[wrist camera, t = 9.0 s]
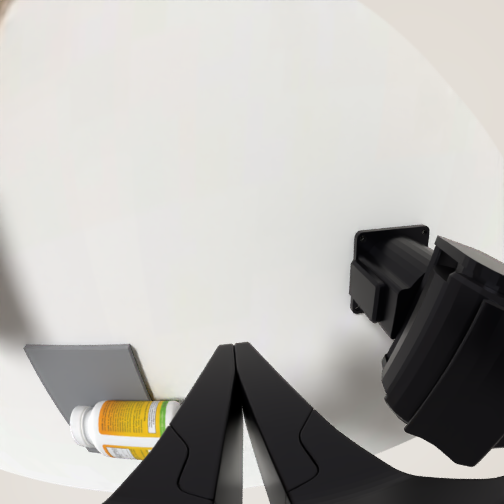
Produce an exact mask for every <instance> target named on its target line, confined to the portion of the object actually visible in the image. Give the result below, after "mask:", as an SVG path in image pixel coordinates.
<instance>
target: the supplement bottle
mask: <svg viewBox="0 0 504 504" xmlns="http://www.w3.org/2000/svg"><path fill="white" fill-rule="evenodd" d="M180 406H181V405H180V403H179V402H177V401H115V400H104V401H100V402H98V403H97V404H96V405H95V406H94V407H90V406H77V407H75V408H74V409H73V411H72V413H71V417H70V430H71V434H72V436H73V439H74V440H75V442H76V443H77V444H78V445H80V446H83V447H89V448H95V447H96V449H97V450H98V451H99V452H100V453H101V454H103V455H105V456H107V457H114V458H124V459H137V460H143V459H144V458H145V457H146V456H147V455H148V453H149V452H150V451H151V450H152V448H153V447H154V446H155V444H156V443H157V441H158V440H159V438H160V437H161V436H162V434H163V432H164V431H165V429H166V428H167V426H170V425H169V423H170V422H171V420H172V419H173V417H174V416H175V414H176V412H177V411H178V409H179V408H180Z"/></svg>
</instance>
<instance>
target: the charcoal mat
mask: <svg viewBox="0 0 504 504" xmlns="http://www.w3.org/2000/svg"><path fill="white" fill-rule="evenodd" d="M24 350H25V352H26V354H27V356H28V358H29V360H30V362H31V364H32V366H33V368H34V369H35V371H36V373H37V375H38V377H39V378H40V380H41V382H42V384H43V385H44V387H45V389H46V390H47V392H48V394H49V395H50V397H51V398H52V400H53V402H54V403H55V405H56V406H57V408H58V409H59V411H60V412H61V414H62V415H63V417H64V418H65V420H66V421H67V423H68V424H69V425H70V417H71V413H72V411H73V409H74V408H75V407H77V406H90V407H94V406H95V405H96V404H97V403H98V402H100V401H104V400H115V401H151V398H150V396H149V394H148V391H147V389H146V386H145V384H144V381H143V379H142V376H141V374H140V371H139V369H138V366H137V364H136V361H135V358H134V356H133V353H132V350H131V347H130V344H121V345H26V346H25V347H24ZM86 448H87V450H88V451H89V452H94V453H100V452H99V451H98V450H97V449H96V447H95V448H89V447H86Z"/></svg>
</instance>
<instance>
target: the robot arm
mask: <svg viewBox="0 0 504 504" xmlns="http://www.w3.org/2000/svg"><path fill="white" fill-rule="evenodd" d="M423 230H424V233H423V234H422V231H423ZM361 236H364V239H363V240H362V241H360V238H361ZM428 241H429V228H428V227H427V226H425V225H413V226H402V227H392V228H381V229H371V230H361V231H358V232H357V233H356V235H355V238H354V260H353V261H352V263H351V270H350V286H349V294H350V295H351V304H350V308H351V310H352V311H353V313H355V314H359V313H365V314H366V315H367V317H368V318H369V319H370V320H371V321H372V322H373V323H377V322H378V323H379V324H380V325H381V327H382V328H383V329H384V330H385V332H386V333H387V334H388V335H389V337H390V338H391V339H395V340H394V342H393V344H392V346H391V348H390V350H389V351H388V353H387V354H385V356H384V358H383V359H382V367H383V370H382V383H383V386H384V389H385V392H386V393H387V394H386V396H385V398H384V399H385V401H386V403H387V405H388V406H389V407H390V409H391V410H392V411H393V412H394V413H395V414H396V415H397V417H398V418H399V419H401V420H402V421H403V422H404V423H406V424H407V425H406V426H405V428H404V431H405V432H406V433H409V434H412V435H415V436H417V437H420V438H422V439H424V440H426V441H428V442H429V443H431V444H433V445H435V446H436V447H437V448H438V449H440V450H441V451H442V452H443V453H444V454H445V455H446V456H448V457H449V458H450V459H451V460H452V461H453V462H455V463H457V464H460V465H464V466H469V467H473V466H475V465H476V464H477V463H478V462H480V461H481V459H482V458H483V457H484V456H485V455H486V454H487V453H488V452H489V451H490V450H491V449H493V448H504V263H502V262H500V261H498V260H497V259H495V258H493V257H491V256H489V255H487V254H485V253H483V252H481V251H479V250H476V249H474V248H471V247H468V246H466V245H463V244H460V243H458V242H455V241H452V240H449V239H447V238H444V237H441V236H437V238H436V241H435V245H436V246H435V249H434V250H432V249H430V248H429V247H428ZM358 305H359V307H358V308H356V306H358ZM242 409H243V410H242ZM243 415H244V419H245V423H246V427H247V430H248V434H249V437H250V440H251V444H252V447H253V450H254V454H255V457H256V460H257V464H258V467H259V470H260V473H261V476H262V479H263V483H264V486H265V489H266V491H267V495H268V498H269V501H270V504H504V476H501V477H497V478H490V479H449V478H434V477H422V476H415V475H411V474H407V473H404V472H401V471H399V470H397V469H395V468H393V467H391V466H390V465H388V464H387V463H385V462H383V461H382V460H380V459H379V458H377V457H376V456H374V455H372V454H371V453H369V452H368V451H366V450H365V449H363V448H362V447H360V446H359V445H357V444H356V443H354V442H353V441H352V440H350V439H349V438H348V437H346V436H345V435H343V434H342V433H341V432H339V431H338V430H337V429H336V428H334V427H333V426H332V425H331V424H330V423H329V422H328V421H327V420H325V419H324V418H323V417H322V416H321V415H320V414H319V413H318V412H317V411H316V410H313V407H312V406H311V405H310V404H309V403H308V402H307V401H306V400H305V399H304V398H303V397H302V396H301V395H300V394H299V393H298V392H297V391H296V390H295V389H294V388H293V387H292V386H291V385H290V384H289V383H288V382H287V381H286V380H285V379H284V378H283V377H282V376H281V375H280V374H279V373H278V372H277V371H276V370H275V369H274V368H273V367H272V366H271V365H270V364H269V363H268V362H267V361H266V360H265V359H264V358H263V357H262V356H261V354H260V353H259V352H258V351H257V350H256V349H255V348H254V347H253V346H252V345H251V344H250V343H249V342H242V343H236V344H235V345H233V344H224V345H219V346H218V347H217V349H216V351H215V352H214V354H213V355H212V357H211V359H210V360H209V362H208V363H207V365H206V367H205V368H204V370H203V371H202V373H201V375H200V376H199V378H198V379H197V381H196V383H195V384H194V386H193V387H192V389H191V390H190V392H189V394H188V395H187V397H186V398H185V400H184V402H183V403H182V405H181V406H180V408H179V409H178V411H177V412H176V414H175V416H174V417H173V419H172V420H171V422H170V423H169V425H170V426H167V428H166V429H165V431H164V432H163V434H162V436H161V437H160V438H159V440H158V441H157V443H156V444H155V446H154V447H153V448H152V450H151V451H150V452H149V453H148V455H147V456H146V457H145V458H144V459H143V461H142V462H141V463H140V464H139V465H138V467H137V468H136V469H135V470H134V471H133V472H132V473H131V474H130V475H129V477H128V478H127V479H126V480H125V481H124V482H123V483H122V484H121V485H120V486H119V488H118V489H117V490H116V491H115V492H114V493H113V494H112V495H111V496H110V497H109V498H108V499H107V500H106V501H105V502H104V503H102V504H242V489H243Z"/></svg>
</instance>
